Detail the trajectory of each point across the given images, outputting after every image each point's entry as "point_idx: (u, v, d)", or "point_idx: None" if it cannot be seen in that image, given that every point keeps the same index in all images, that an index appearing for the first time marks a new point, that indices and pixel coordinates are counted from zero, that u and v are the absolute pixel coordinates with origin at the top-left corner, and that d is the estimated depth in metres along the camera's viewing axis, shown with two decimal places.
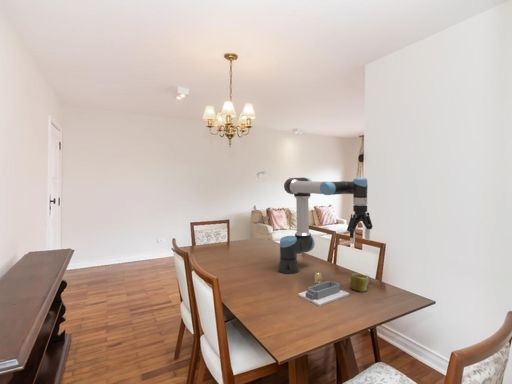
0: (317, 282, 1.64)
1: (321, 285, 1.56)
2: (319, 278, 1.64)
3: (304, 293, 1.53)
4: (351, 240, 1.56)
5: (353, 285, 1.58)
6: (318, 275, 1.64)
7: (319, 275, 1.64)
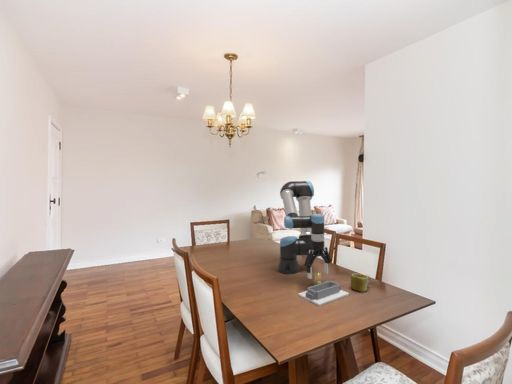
0: (317, 282, 1.64)
1: (321, 285, 1.56)
2: (319, 278, 1.64)
3: (304, 293, 1.53)
4: (308, 275, 1.62)
5: (353, 285, 1.58)
6: (318, 275, 1.64)
7: (319, 275, 1.64)
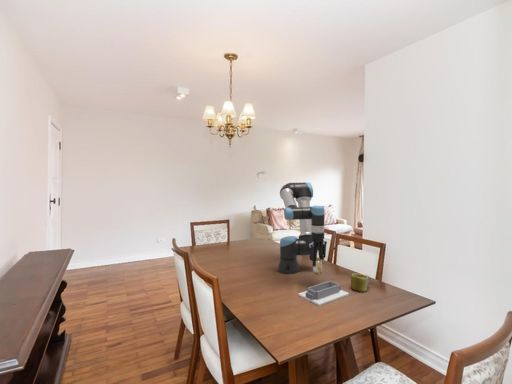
0: (317, 269, 1.64)
1: (321, 285, 1.56)
2: (319, 265, 1.64)
3: (304, 293, 1.53)
4: (314, 268, 1.65)
5: (353, 285, 1.58)
6: (318, 262, 1.64)
7: (319, 262, 1.64)
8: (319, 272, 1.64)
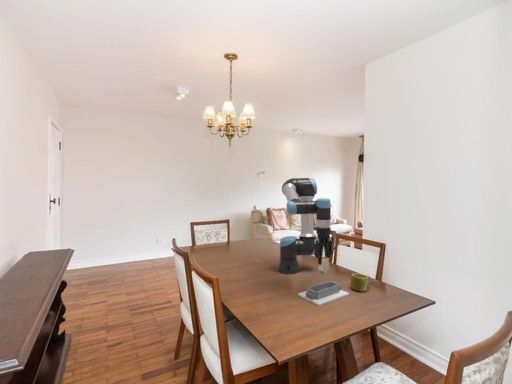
0: (323, 268, 1.50)
1: (321, 285, 1.56)
2: (325, 264, 1.50)
3: (304, 293, 1.53)
4: (319, 267, 1.51)
5: (353, 285, 1.58)
6: (324, 260, 1.50)
7: (325, 260, 1.50)
8: (325, 271, 1.50)
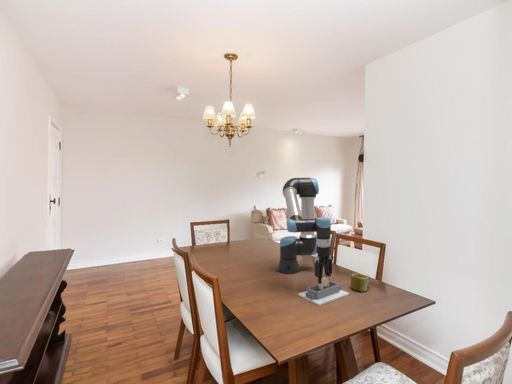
0: (323, 287, 1.51)
1: None
2: (325, 283, 1.50)
3: (304, 293, 1.53)
4: (319, 286, 1.52)
5: (353, 285, 1.58)
6: (324, 279, 1.50)
7: (325, 279, 1.50)
8: None
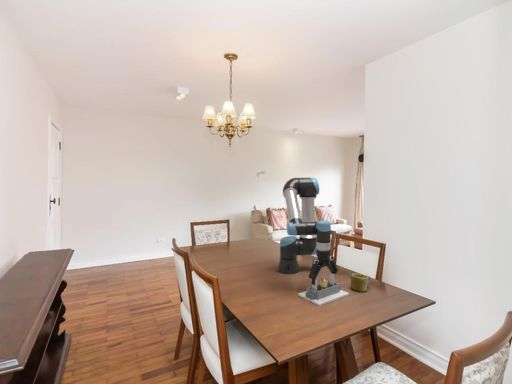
0: None
1: None
2: (325, 285, 1.51)
3: (304, 293, 1.53)
4: (313, 287, 1.49)
5: (353, 285, 1.58)
6: (324, 282, 1.50)
7: (325, 282, 1.51)
8: None
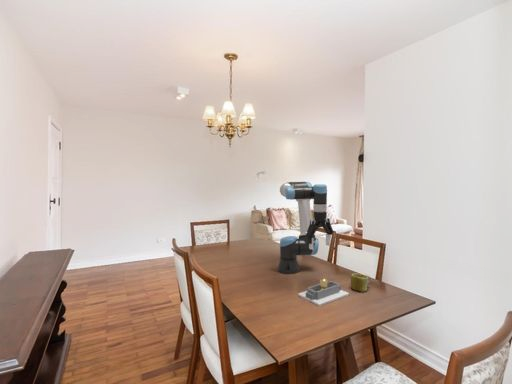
0: None
1: None
2: (325, 285, 1.51)
3: (304, 293, 1.53)
4: (310, 246, 1.59)
5: (353, 285, 1.58)
6: (324, 282, 1.50)
7: (325, 282, 1.51)
8: None
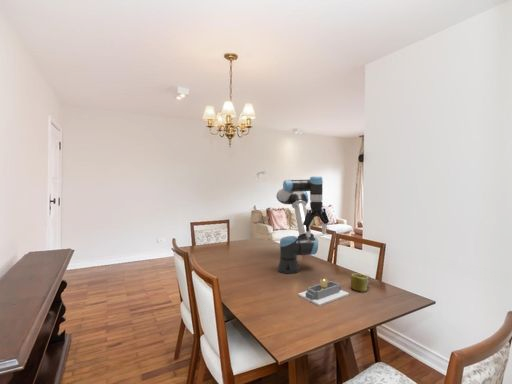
0: None
1: None
2: (325, 285, 1.51)
3: (304, 293, 1.53)
4: (307, 233, 1.70)
5: (353, 285, 1.58)
6: (324, 282, 1.50)
7: (325, 282, 1.51)
8: None
